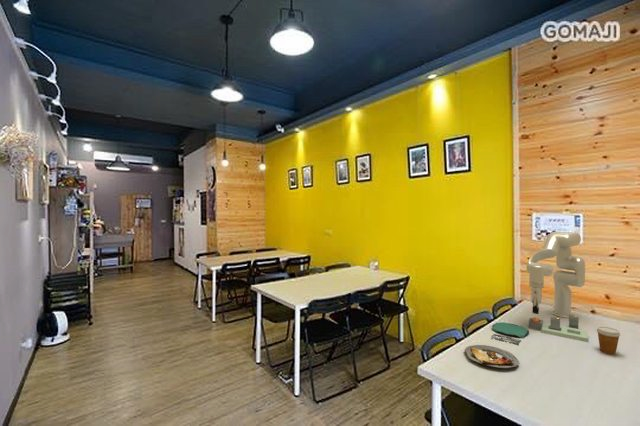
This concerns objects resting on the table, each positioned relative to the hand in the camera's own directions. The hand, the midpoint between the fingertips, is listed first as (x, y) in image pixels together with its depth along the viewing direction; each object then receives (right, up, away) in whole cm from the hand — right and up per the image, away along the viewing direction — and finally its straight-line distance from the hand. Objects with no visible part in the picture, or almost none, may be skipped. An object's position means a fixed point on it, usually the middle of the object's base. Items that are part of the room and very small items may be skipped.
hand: (535, 313), depth 203 cm
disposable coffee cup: (+18, -11, -31) cm, 38 cm away
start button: (0, -6, 0) cm, 6 cm away
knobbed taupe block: (+23, -10, -1) cm, 25 cm away
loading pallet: (+9, -10, -6) cm, 15 cm away
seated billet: (+8, -10, -6) cm, 14 cm away
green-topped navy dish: (-22, -11, -7) cm, 25 cm away
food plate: (-49, -12, -39) cm, 64 cm away
